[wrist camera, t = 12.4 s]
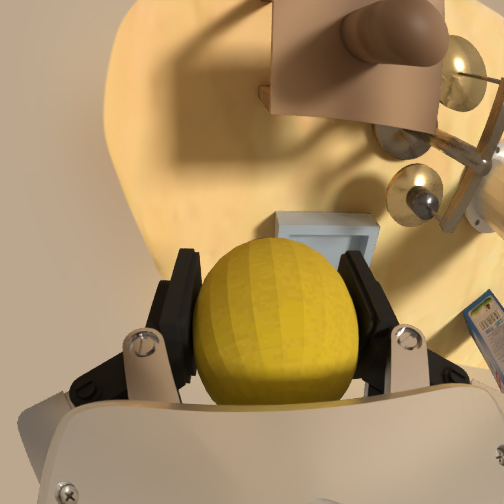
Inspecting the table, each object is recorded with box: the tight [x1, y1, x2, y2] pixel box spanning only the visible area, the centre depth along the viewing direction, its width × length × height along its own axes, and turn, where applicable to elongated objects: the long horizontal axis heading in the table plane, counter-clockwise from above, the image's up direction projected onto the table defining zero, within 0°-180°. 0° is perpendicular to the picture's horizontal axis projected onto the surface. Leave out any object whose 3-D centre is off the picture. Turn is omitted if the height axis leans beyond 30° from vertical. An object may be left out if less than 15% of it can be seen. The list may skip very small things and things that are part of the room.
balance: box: [372, 35, 504, 232], centre depth 19 cm, size 7×18×14 cm, turn 179°
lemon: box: [193, 237, 359, 405], centre depth 10 cm, size 6×6×8 cm
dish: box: [274, 211, 380, 270], centre depth 31 cm, size 10×10×3 cm
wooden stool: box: [259, 0, 449, 134], centre depth 14 cm, size 10×10×16 cm
